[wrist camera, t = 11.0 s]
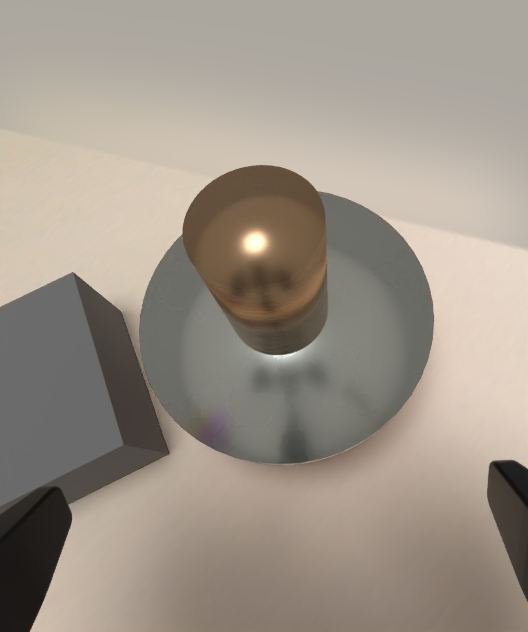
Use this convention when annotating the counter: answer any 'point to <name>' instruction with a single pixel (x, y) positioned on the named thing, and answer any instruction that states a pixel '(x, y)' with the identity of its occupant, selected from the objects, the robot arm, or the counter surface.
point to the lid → (284, 320)
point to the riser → (70, 395)
